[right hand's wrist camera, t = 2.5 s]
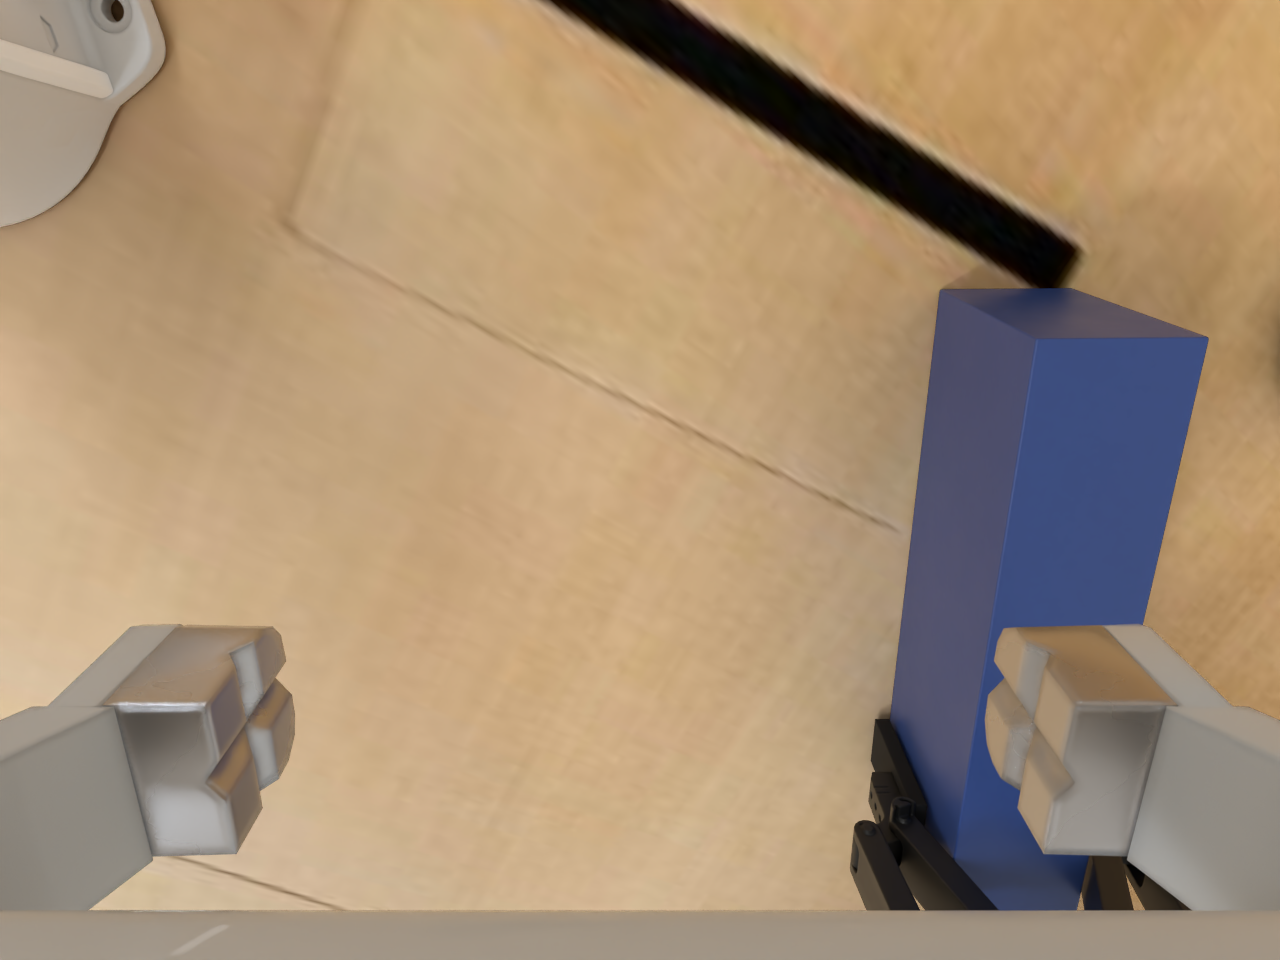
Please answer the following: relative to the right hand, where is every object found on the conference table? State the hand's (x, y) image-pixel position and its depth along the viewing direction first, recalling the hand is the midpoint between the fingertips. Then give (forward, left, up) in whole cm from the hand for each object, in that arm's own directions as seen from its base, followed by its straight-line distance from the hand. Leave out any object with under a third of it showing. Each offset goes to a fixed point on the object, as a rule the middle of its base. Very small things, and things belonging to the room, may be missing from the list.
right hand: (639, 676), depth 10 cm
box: (+14, +17, -31) cm, 38 cm away
